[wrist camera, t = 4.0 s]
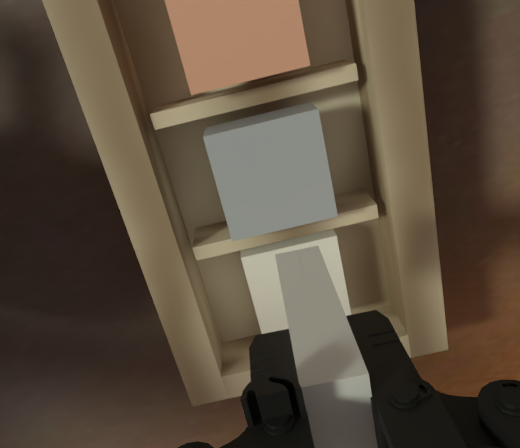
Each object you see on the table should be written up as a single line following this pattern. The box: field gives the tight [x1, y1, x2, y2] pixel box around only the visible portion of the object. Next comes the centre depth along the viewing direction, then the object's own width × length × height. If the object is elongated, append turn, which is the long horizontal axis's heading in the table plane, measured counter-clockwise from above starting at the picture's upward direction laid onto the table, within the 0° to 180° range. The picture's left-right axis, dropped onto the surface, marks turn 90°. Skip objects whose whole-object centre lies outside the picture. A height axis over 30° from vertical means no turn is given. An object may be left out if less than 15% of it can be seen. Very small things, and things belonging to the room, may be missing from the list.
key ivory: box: [240, 229, 351, 334], centre depth 25 cm, size 5×5×2 cm
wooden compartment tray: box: [42, 0, 448, 407], centre depth 22 cm, size 14×30×4 cm, turn 13°
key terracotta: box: [165, 0, 310, 95], centre depth 19 cm, size 5×5×2 cm
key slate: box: [203, 102, 338, 241], centre depth 21 cm, size 5×5×2 cm
